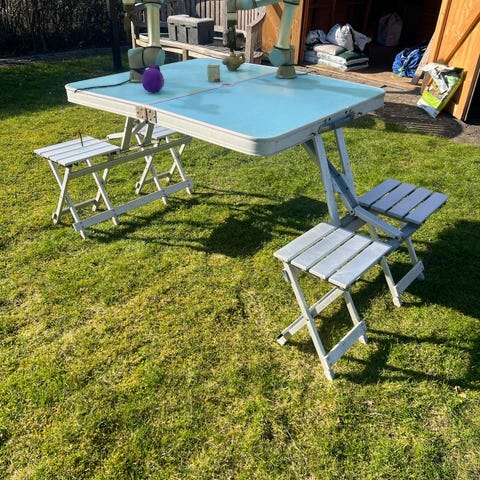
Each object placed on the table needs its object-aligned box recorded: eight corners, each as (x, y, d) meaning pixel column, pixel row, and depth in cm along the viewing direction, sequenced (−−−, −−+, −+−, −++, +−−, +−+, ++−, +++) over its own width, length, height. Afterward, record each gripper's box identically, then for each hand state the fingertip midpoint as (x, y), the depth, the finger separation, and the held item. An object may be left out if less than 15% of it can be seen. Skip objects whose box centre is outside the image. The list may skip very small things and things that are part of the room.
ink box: (220, 80, 335) (220, 64, 329) (219, 82, 331) (218, 65, 325) (209, 80, 336) (208, 64, 330) (207, 82, 332) (206, 65, 326)
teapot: (225, 72, 362) (225, 52, 354) (219, 70, 371) (218, 51, 363) (248, 69, 371) (248, 50, 364) (241, 67, 380) (241, 48, 372)
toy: (156, 85, 322) (164, 98, 301) (131, 81, 314) (137, 93, 294) (160, 63, 314) (168, 74, 293) (135, 58, 306) (141, 69, 286)
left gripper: (131, 2, 290) (135, 38, 301) (114, 4, 269) (120, 43, 280) (142, 2, 289) (146, 38, 300) (126, 4, 268) (131, 43, 279)
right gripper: (229, 18, 340) (231, 48, 351) (223, 20, 319) (225, 53, 329) (239, 18, 339) (240, 48, 350) (234, 20, 318) (235, 52, 328)
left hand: (133, 40), depth 290 cm, fingers open, 13 cm apart
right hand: (233, 50), depth 340 cm, fingers open, 13 cm apart
